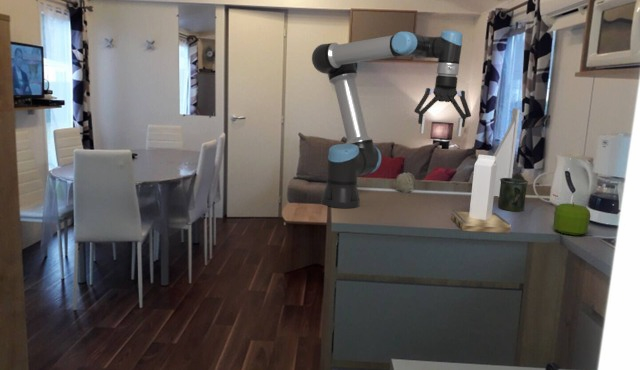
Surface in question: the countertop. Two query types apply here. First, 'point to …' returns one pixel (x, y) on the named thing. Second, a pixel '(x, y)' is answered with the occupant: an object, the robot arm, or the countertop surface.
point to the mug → (512, 194)
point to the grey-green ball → (405, 182)
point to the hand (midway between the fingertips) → (439, 134)
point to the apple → (571, 219)
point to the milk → (483, 187)
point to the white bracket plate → (506, 152)
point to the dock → (480, 223)
